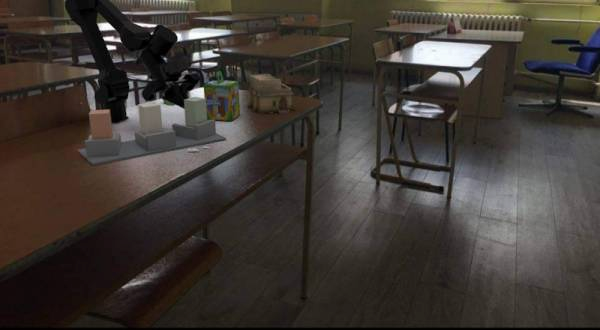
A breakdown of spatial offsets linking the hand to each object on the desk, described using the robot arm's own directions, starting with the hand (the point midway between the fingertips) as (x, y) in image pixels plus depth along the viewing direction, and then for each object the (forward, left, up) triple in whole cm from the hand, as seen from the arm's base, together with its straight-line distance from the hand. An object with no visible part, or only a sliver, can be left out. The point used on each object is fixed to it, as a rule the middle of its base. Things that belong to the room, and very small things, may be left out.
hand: (189, 109), depth 141 cm
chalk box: (+1, +22, -8) cm, 23 cm away
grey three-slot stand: (-6, -10, -8) cm, 14 cm away
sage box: (+2, -1, -8) cm, 8 cm away
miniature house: (+14, +37, -8) cm, 40 cm away
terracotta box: (-14, -20, -8) cm, 26 cm away
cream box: (-6, -10, -8) cm, 14 cm away
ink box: (-23, +38, -8) cm, 45 cm away
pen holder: (-5, +38, -8) cm, 39 cm away
